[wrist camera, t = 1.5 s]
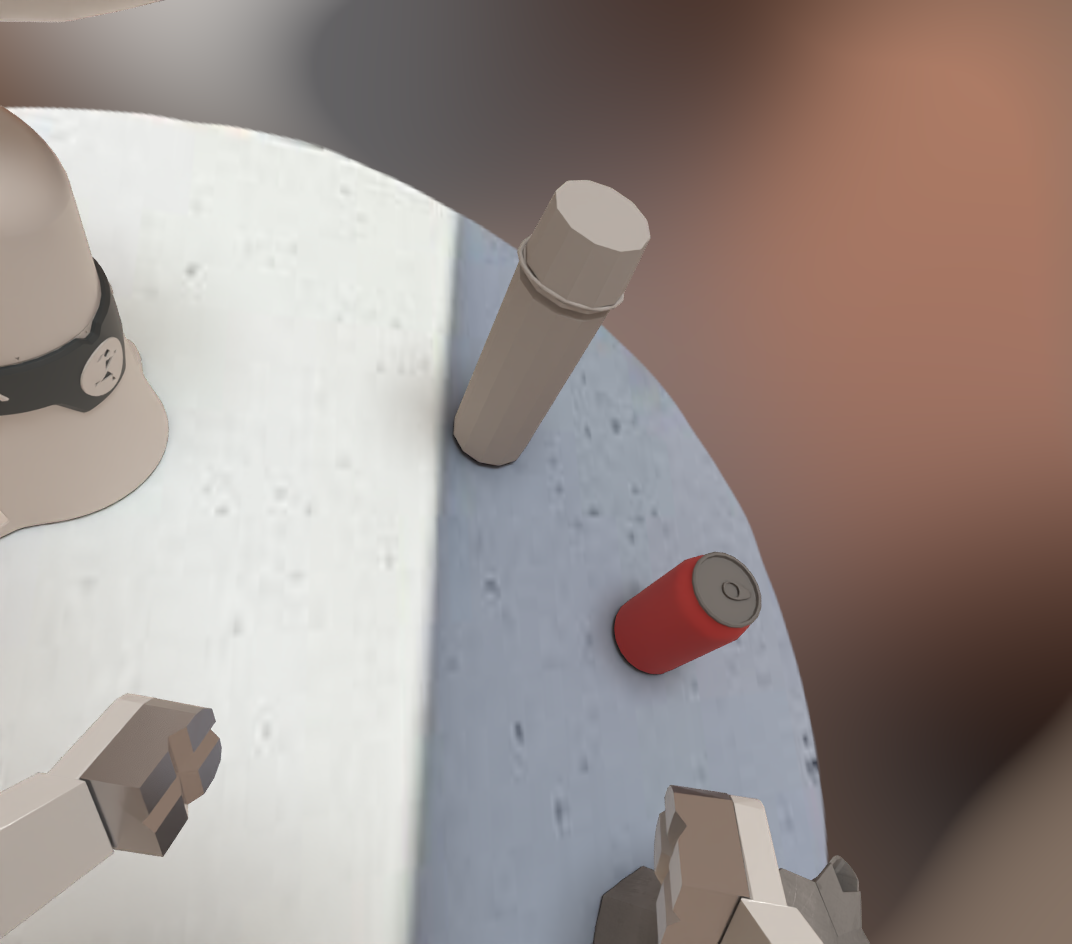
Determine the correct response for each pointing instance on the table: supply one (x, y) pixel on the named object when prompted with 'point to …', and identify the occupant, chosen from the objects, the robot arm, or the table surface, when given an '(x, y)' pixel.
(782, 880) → the coffeepot
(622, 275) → the water bottle
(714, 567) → the beer can
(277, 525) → the table surface
